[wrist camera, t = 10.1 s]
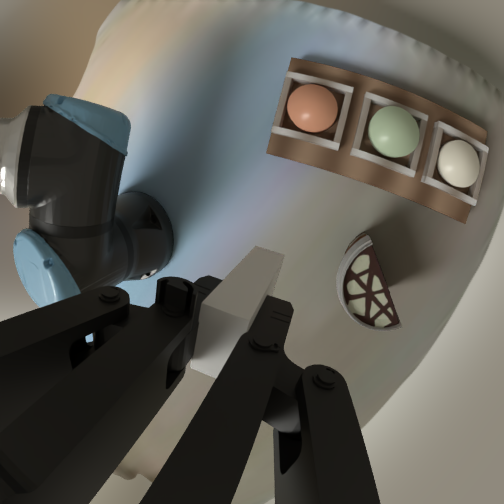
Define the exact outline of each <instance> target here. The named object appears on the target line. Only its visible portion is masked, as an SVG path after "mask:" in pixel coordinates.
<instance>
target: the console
mask: <svg viewBox="0 0 504 504" xmlns="http://www.w3.org/2000/svg"><path fill="white" fill-rule="evenodd" d="M308 84H314V85H319V86H322V87H324V88H326V89H327V90H329V91H330V92H331V93H332V94H333V96H334V97H335V99H336V102H337V107H338V111H337V117H336V120H335V122H334V124H333V125H332V126H331V127H330V128H329V129H328V130H326V131H324V132H321V133H315V134H313V133H307V132H304V131H302V130H301V129H299V128H298V127H297V126H296V125H295V124H294V122H293V121H292V120H291V118H290V116H289V114H288V110H287V104H288V100H289V97H290V95H291V94H292V93H293V92H294V91H295V90H296V89H297V88H299V87H301V86H304V85H308ZM387 106H396V107H400V108H402V109H404V110H406V111H407V112H409V113H410V114H411V115H412V116H413V118H414V119H415V121H416V122H417V125H418V128H419V134H420V136H419V142H418V145H417V147H416V148H415V150H414V151H413V152H411V153H410V154H408V155H406V156H402V157H396V158H391V157H387V156H384V155H382V154H381V153H379V152H378V151H377V150H376V149H375V148H374V147H373V146H372V144H371V142H370V140H369V136H368V125H369V122H370V120H371V118H372V117H373V116H374V115H375V113H376V112H377V111H379V110H380V109H382V108H384V107H387ZM271 132H272V133H271V137H270V140H269V144H268V148H267V152H266V153H267V154H271V155H274V156H278V157H282V158H286V159H290V160H293V161H297V162H300V163H304V164H307V165H311V166H314V167H317V168H321V169H324V170H327V171H330V172H334V173H337V174H340V175H343V176H346V177H349V178H352V179H355V180H358V181H361V182H364V183H367V184H369V185H372V186H375V187H378V188H380V189H383V190H386V191H388V192H391V193H394V194H396V195H399V196H401V197H404V198H407V199H409V200H412V201H414V202H416V203H419V204H421V205H424V206H426V207H428V208H431V209H433V210H435V211H438V212H440V213H442V214H444V215H447V216H449V217H451V218H453V219H455V220H457V221H460V222H462V223H464V224H466V220H467V217H468V214H469V211H470V208H471V205H474V206H476V202H477V199H478V195H479V191H480V187H481V183H482V179H483V175H484V170H485V166H486V161H487V156H488V150H489V147H487V146H485V143H486V137H487V131H486V130H484V129H482V128H481V127H479V126H477V125H476V124H474V123H472V122H470V121H469V120H467V119H465V118H463V117H461V116H460V115H458V114H456V113H454V112H452V111H450V110H448V109H446V108H444V107H442V106H440V105H438V104H436V103H434V102H431V101H429V100H427V99H425V98H422V97H420V96H418V95H416V94H413V93H411V92H408V91H406V90H403V89H401V88H398V87H396V86H393V85H390V84H388V83H385V82H382V81H379V80H376V79H373V78H370V77H367V76H364V75H361V74H358V73H354V72H351V71H347V70H344V69H340V68H336V67H333V66H329V65H324V64H320V63H316V62H311V61H307V60H302V59H297V58H292V57H291V61H290V65H289V68H288V71H287V73H286V77H285V81H284V84H283V88H282V92H281V96H280V99H279V103H278V107H277V111H276V114H275V118H274V122H273V126H272V130H271ZM454 140H462V141H465V142H467V143H468V144H470V145H471V146H472V147H473V149H474V150H475V152H476V153H477V156H478V159H479V164H480V170H479V175H478V177H477V179H476V181H475V182H474V183H473V184H472V185H471V186H468V187H456V186H451V185H449V184H447V183H446V182H444V181H443V180H442V178H441V177H440V175H439V174H438V171H437V168H436V161H437V156H438V152H439V148H440V146H441V145H442V144H444V143H446V142H449V141H454Z"/></svg>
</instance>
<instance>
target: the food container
mask: <svg viewBox="0 0 504 504" xmlns="http://www.w3.org/2000/svg"><path fill="white" fill-rule="evenodd" d="M372 244H373V243H372V241H371V239H370V237H369V235H367V234H366V233H365V232H363V233H362V234H360V235H358V236H357V237H356V238H355V239H354V240H353V241H352V242H351V243H350V244H349V246H348V248H347V250H346V252H345V256H344V257H343V259H342V261H341V263H340V266H339V269H338V273H337V279H336V288H337V294H338V297H339V300H340V302H341V304H342V306H343V308H344V309H345V311H346V312H347V314H348V315H349V316H350V317H351V318H352V319H353V320H354V321H355V322H357V323H358V324H360V325H362V326H364V327H366V328H368V329H372V330H376V331H391V330H396V329H399V328H402V325H401V323H400V320H399V317H398V315H397V312H396V310H395V307H394V304H393V301H392V298H391V296H390V292H389V290H388V287H387V284H386V280H385V278H384V275H383V273H382V270H381V267H380V265H379V262H378V259H377V257H376V254H375V252H374V249H373V247H372Z"/></svg>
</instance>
